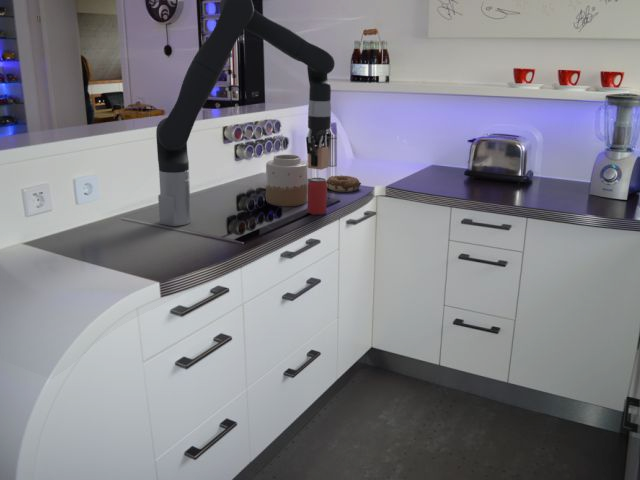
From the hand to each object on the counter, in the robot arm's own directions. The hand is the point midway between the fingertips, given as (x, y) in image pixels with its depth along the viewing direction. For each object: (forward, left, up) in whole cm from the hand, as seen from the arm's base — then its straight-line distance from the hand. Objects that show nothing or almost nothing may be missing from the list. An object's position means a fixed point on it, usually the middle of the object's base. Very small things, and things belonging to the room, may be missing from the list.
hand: (318, 164), depth 205 cm
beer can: (0, 0, -17) cm, 17 cm away
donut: (+38, +8, -17) cm, 42 cm away
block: (0, 0, -1) cm, 1 cm away
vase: (+8, +17, -17) cm, 26 cm away
